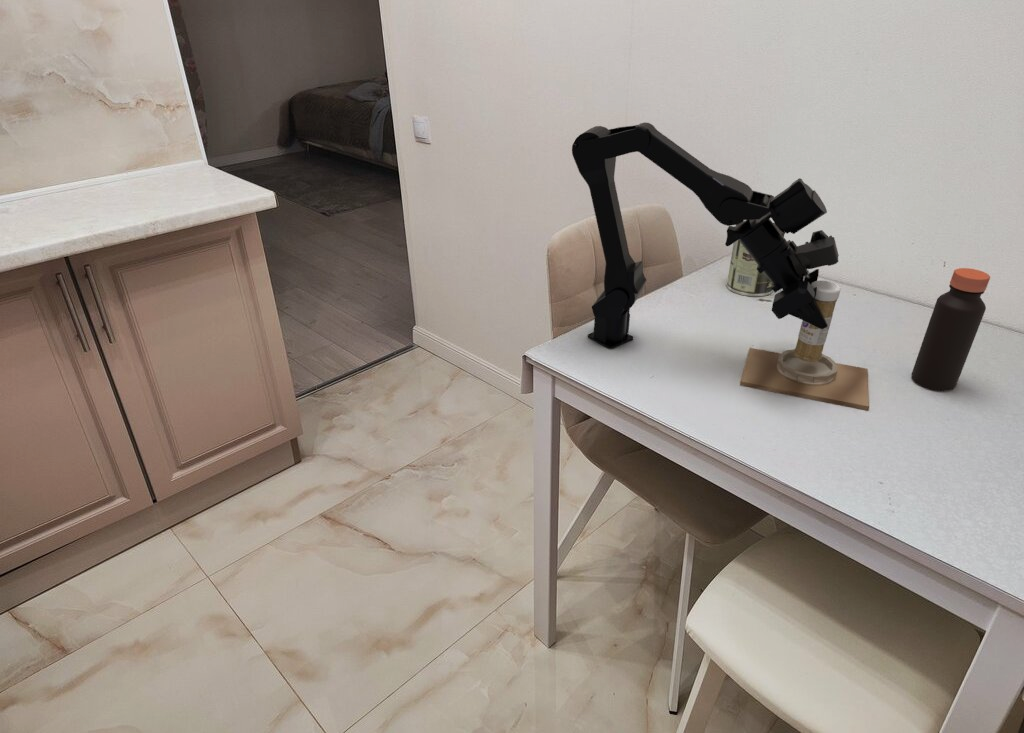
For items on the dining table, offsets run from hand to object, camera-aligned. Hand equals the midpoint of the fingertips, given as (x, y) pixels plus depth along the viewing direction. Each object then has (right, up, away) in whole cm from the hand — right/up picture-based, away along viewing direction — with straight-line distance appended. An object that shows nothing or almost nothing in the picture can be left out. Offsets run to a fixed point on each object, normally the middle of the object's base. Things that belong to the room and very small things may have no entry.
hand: (825, 321), depth 111 cm
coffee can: (+1, +10, +39) cm, 40 cm away
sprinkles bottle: (-1, -6, +4) cm, 7 cm away
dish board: (-2, -10, +5) cm, 11 cm away
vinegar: (+20, -10, +3) cm, 23 cm away
